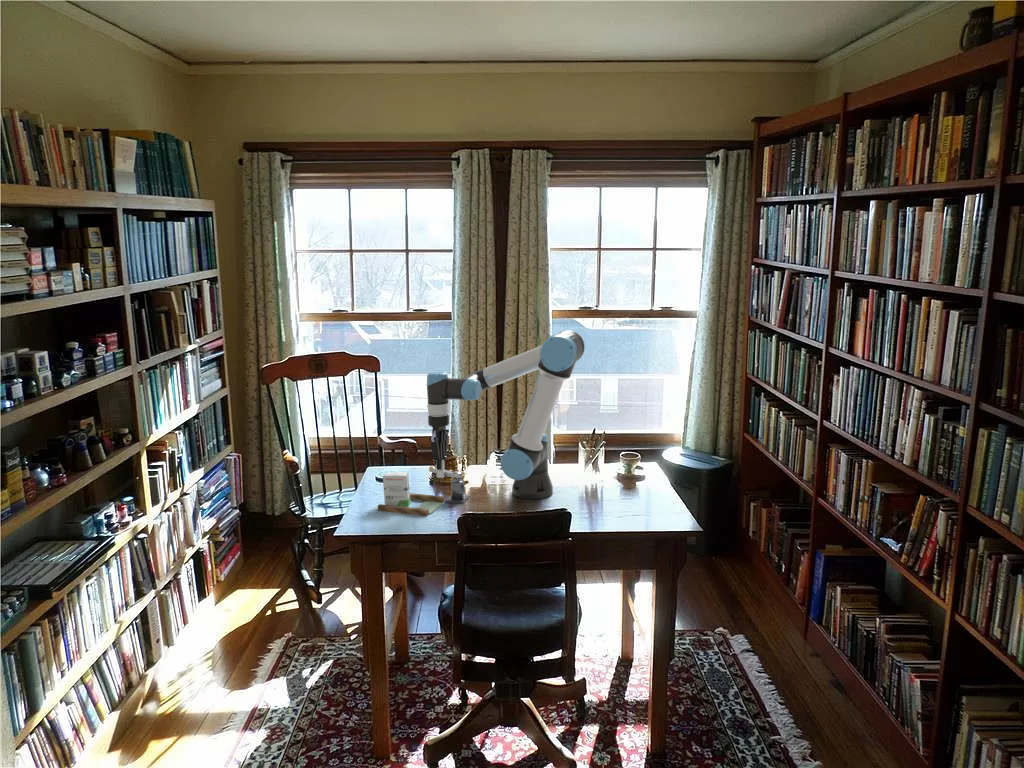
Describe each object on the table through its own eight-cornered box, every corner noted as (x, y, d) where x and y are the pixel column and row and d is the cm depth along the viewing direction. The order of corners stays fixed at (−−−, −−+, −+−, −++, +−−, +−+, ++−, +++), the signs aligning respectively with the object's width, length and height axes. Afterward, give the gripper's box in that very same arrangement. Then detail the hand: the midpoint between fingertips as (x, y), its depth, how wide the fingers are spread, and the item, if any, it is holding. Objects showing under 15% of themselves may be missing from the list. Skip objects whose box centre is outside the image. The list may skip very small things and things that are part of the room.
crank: (464, 478, 280) (464, 472, 279) (457, 481, 277) (457, 474, 276) (433, 470, 290) (433, 463, 290) (426, 472, 288) (426, 466, 287)
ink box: (411, 502, 279) (409, 471, 276) (407, 507, 274) (406, 475, 272) (387, 502, 280) (386, 471, 277) (384, 507, 275) (382, 475, 272)
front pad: (443, 503, 277) (443, 502, 277) (430, 514, 267) (430, 513, 267) (425, 501, 279) (425, 500, 279) (412, 512, 269) (412, 511, 269)
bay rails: (444, 501, 279) (444, 496, 279) (426, 516, 265) (426, 510, 265) (397, 497, 285) (397, 491, 285) (377, 511, 271) (377, 505, 271)
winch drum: (470, 497, 283) (469, 476, 282) (463, 503, 277) (462, 482, 275) (453, 495, 285) (452, 474, 284) (445, 501, 279) (444, 480, 277)
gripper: (436, 410, 285) (438, 471, 289) (421, 417, 273) (424, 481, 277) (454, 411, 283) (456, 472, 287) (441, 418, 271) (443, 483, 275)
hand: (440, 477), depth 282 cm, fingers closed
